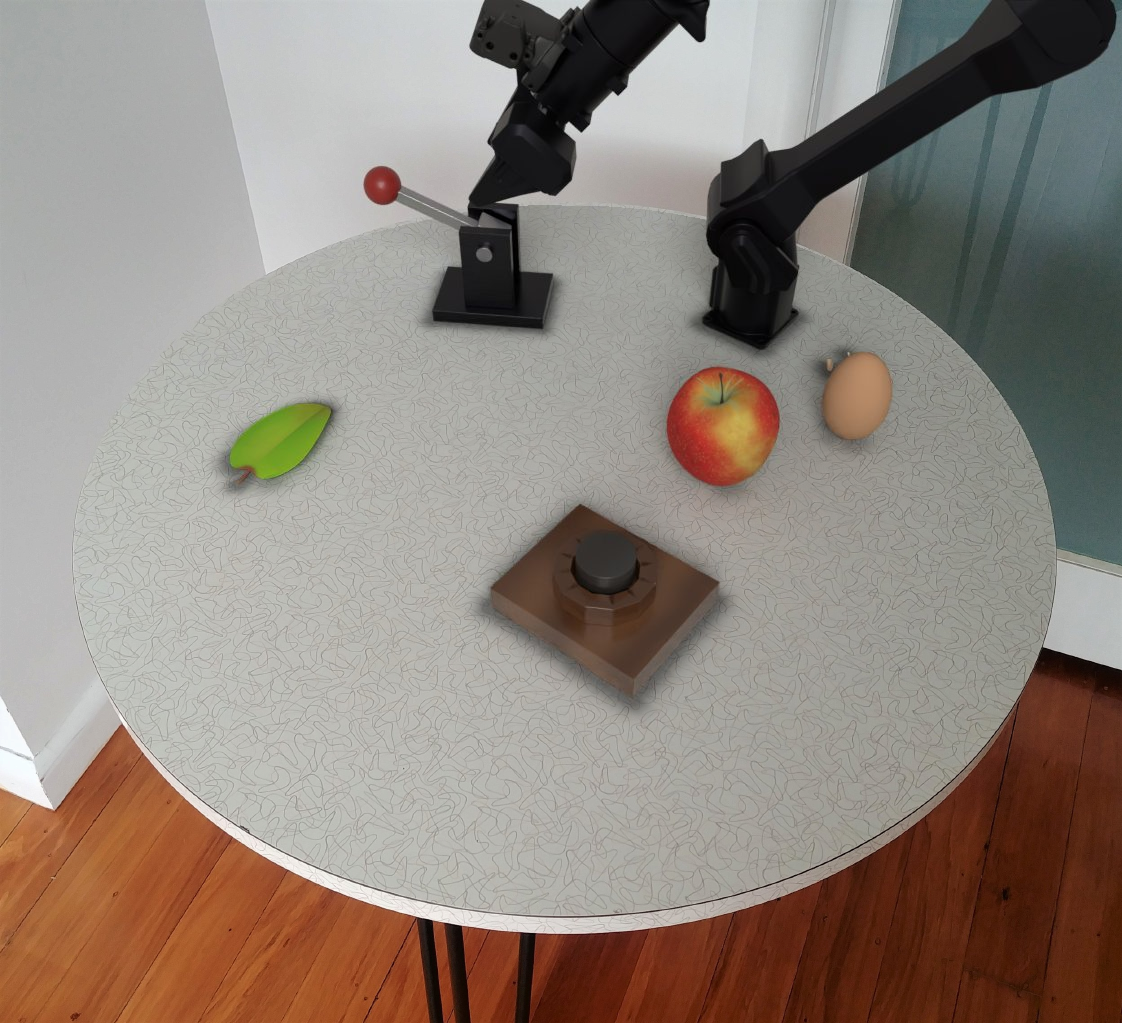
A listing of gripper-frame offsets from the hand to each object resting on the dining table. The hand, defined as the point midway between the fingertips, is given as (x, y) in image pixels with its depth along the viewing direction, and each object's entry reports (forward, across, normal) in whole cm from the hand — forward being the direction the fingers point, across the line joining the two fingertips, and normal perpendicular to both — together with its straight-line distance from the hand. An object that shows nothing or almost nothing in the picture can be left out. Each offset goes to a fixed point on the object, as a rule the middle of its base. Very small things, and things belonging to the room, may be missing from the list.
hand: (482, 173), depth 88 cm
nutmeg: (-11, +6, +32) cm, 35 cm away
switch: (+7, 0, 0) cm, 7 cm away
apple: (-4, +20, +24) cm, 32 cm away
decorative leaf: (+19, +20, -2) cm, 28 cm away
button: (-2, +34, +16) cm, 38 cm away
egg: (-11, +14, +32) cm, 37 cm away
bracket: (+10, 0, +9) cm, 13 cm away
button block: (+1, +34, +19) cm, 39 cm away
